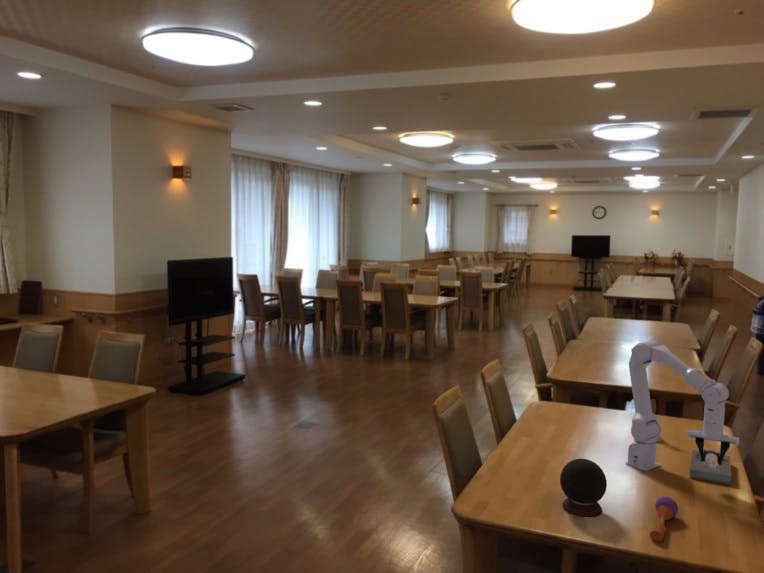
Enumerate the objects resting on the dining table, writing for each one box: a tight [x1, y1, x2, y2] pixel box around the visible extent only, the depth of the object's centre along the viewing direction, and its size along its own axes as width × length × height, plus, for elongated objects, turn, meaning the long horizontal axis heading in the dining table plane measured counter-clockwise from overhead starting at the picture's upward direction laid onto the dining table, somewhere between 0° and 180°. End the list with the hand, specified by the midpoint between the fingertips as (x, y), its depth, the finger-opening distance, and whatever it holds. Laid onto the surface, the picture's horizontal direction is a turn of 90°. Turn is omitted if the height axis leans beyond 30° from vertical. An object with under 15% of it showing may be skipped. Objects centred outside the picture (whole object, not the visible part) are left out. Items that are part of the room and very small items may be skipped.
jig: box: [689, 449, 732, 486], centre depth 206 cm, size 20×12×3 cm, turn 151°
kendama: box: [649, 496, 679, 543], centre depth 167 cm, size 6×6×20 cm
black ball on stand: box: [559, 458, 608, 519], centre depth 177 cm, size 13×13×15 cm
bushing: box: [703, 448, 720, 469], centre depth 193 cm, size 4×4×5 cm
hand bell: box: [650, 398, 664, 443], centre depth 238 cm, size 8×8×16 cm
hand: (711, 462), depth 193 cm, fingers closed on bushing, 4 cm apart
